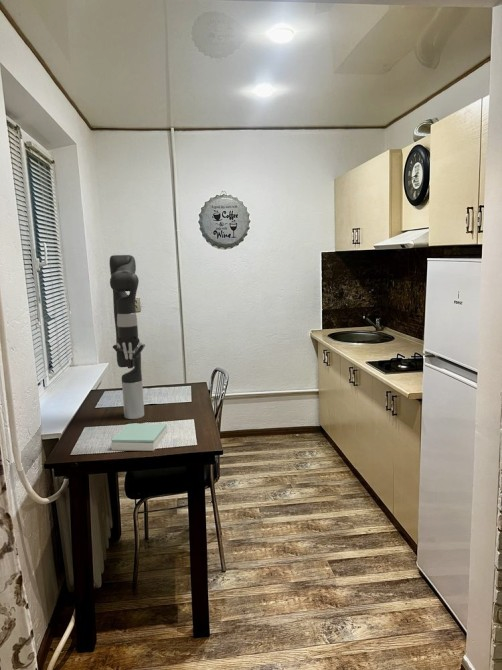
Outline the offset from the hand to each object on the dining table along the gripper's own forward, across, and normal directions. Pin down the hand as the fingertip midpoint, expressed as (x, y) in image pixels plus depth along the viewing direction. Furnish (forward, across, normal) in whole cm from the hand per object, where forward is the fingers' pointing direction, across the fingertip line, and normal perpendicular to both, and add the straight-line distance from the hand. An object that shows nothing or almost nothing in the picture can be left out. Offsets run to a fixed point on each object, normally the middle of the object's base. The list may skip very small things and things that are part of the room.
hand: (130, 368), depth 191 cm
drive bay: (+31, -2, -2) cm, 31 cm away
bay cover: (+28, -1, -1) cm, 28 cm away
